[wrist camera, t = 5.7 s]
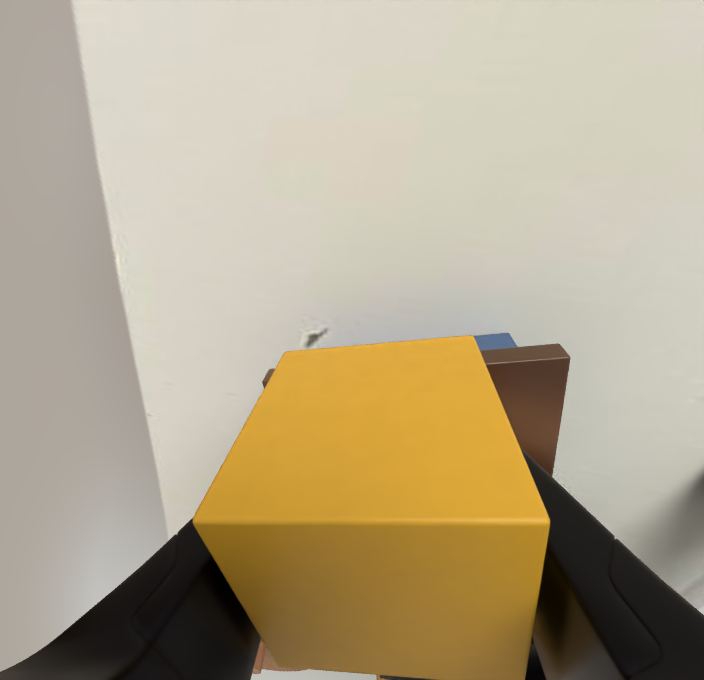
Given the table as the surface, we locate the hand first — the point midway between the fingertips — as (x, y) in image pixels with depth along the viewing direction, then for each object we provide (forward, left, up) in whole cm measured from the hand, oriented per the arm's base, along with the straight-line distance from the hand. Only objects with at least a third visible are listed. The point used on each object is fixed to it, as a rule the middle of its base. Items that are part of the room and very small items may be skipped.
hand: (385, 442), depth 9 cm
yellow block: (0, 0, -1) cm, 1 cm away
